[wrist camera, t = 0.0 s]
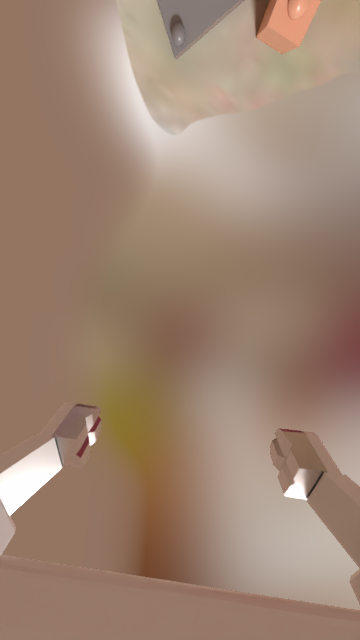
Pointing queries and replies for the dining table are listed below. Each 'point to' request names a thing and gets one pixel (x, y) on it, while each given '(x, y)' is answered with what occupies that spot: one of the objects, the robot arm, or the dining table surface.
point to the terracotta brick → (286, 23)
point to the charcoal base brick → (192, 20)
